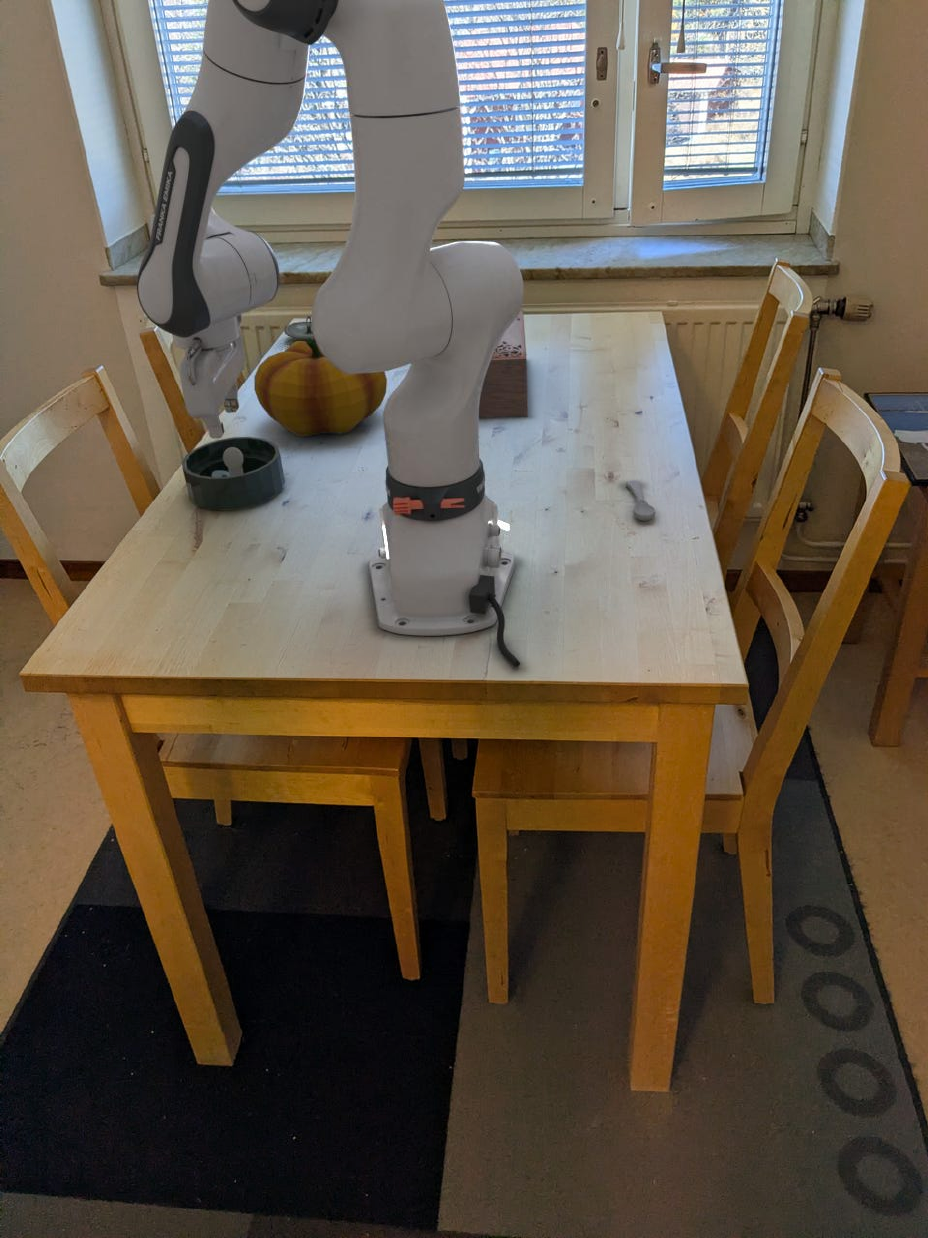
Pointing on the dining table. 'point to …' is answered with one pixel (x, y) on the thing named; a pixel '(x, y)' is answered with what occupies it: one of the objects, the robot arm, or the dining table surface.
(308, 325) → the lid
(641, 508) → the spoon
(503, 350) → the tissue box cover
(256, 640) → the dining table surface
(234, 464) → the pacifier
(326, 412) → the decorative pumpkin
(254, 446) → the bowl
